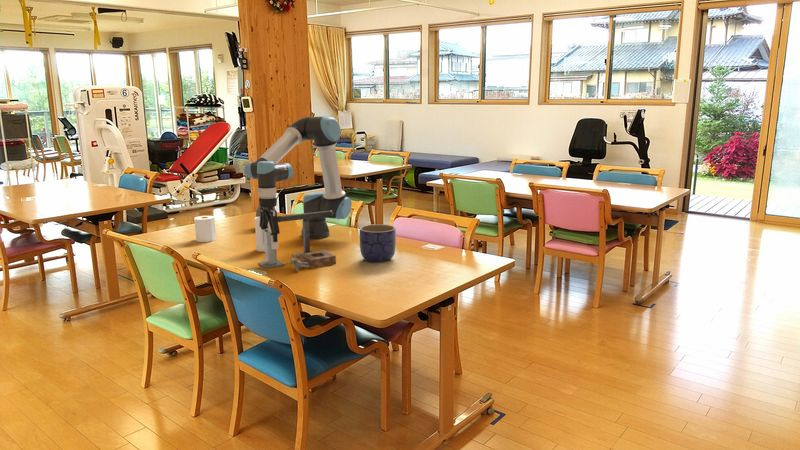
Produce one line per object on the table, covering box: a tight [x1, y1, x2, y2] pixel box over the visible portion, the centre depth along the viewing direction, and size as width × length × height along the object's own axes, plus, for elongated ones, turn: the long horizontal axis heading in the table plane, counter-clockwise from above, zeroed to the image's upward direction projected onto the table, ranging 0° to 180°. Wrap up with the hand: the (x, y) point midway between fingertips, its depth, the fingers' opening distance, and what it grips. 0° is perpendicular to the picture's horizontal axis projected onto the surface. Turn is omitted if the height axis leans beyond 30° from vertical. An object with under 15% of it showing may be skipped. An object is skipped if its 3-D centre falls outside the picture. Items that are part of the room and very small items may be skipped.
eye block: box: [299, 249, 337, 269], centre depth 255 cm, size 12×12×4 cm
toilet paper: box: [193, 215, 217, 243], centre depth 296 cm, size 10×10×12 cm
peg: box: [263, 230, 278, 265], centre depth 250 cm, size 4×4×15 cm
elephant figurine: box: [290, 253, 310, 274], centre depth 244 cm, size 10×6×9 cm
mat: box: [257, 259, 286, 270], centre depth 252 cm, size 9×9×1 cm
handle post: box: [295, 220, 313, 259], centre depth 263 cm, size 8×8×17 cm
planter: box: [358, 223, 397, 263], centre depth 258 cm, size 16×16×15 cm
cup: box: [254, 216, 271, 253], centre depth 276 cm, size 8×8×16 cm
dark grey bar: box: [277, 210, 333, 223], centre depth 261 cm, size 3×28×4 cm, turn 121°
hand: (270, 246), depth 250 cm, fingers open, 11 cm apart
